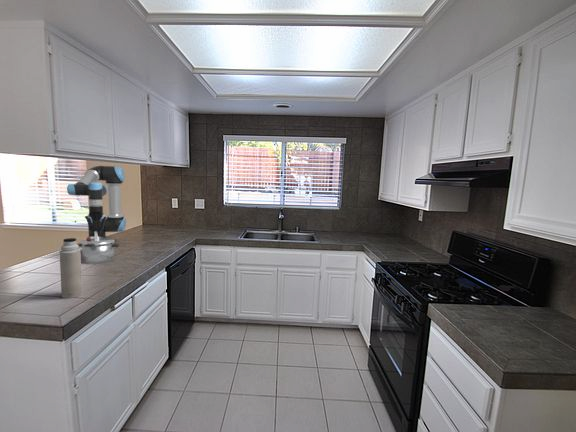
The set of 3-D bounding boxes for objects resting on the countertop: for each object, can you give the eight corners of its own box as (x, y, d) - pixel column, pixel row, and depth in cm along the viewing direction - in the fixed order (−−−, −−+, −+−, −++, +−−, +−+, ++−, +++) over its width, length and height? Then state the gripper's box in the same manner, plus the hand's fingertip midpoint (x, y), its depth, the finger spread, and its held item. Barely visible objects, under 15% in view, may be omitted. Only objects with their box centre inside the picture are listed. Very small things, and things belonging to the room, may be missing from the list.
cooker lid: (89, 239, 204) (89, 234, 203) (119, 240, 207) (119, 235, 207) (71, 247, 181) (71, 241, 181) (104, 247, 185) (104, 242, 184)
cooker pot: (85, 256, 204) (84, 240, 203) (123, 256, 209) (123, 240, 207) (71, 264, 187) (70, 245, 185) (113, 264, 191) (112, 246, 190)
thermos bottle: (58, 298, 136) (55, 240, 133) (66, 292, 144) (64, 237, 140) (77, 298, 138) (75, 240, 135) (85, 291, 146) (82, 237, 142)
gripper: (82, 205, 187) (83, 241, 189) (104, 206, 189) (105, 242, 192) (88, 205, 194) (89, 239, 197) (109, 205, 196) (109, 239, 199)
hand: (96, 240), depth 194 cm, fingers closed
